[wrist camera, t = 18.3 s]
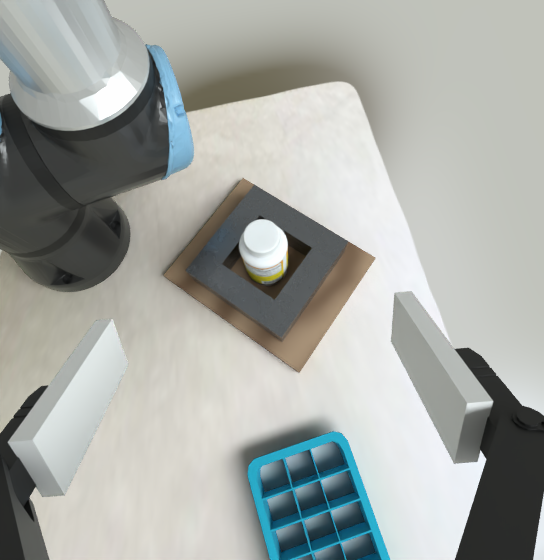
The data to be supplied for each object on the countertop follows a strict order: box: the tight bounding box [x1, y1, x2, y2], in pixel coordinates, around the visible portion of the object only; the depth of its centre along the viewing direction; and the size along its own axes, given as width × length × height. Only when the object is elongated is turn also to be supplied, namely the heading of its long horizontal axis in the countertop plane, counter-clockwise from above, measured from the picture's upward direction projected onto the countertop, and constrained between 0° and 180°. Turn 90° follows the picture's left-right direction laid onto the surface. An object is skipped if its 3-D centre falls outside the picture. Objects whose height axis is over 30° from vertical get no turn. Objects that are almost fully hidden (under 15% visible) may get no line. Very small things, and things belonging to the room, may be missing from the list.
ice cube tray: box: [248, 431, 390, 560], centre depth 39 cm, size 12×20×3 cm, turn 18°
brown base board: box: [164, 178, 375, 372], centre depth 49 cm, size 22×18×1 cm
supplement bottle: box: [239, 219, 288, 286], centre depth 44 cm, size 6×6×10 cm
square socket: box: [185, 185, 348, 342], centre depth 47 cm, size 14×14×4 cm
